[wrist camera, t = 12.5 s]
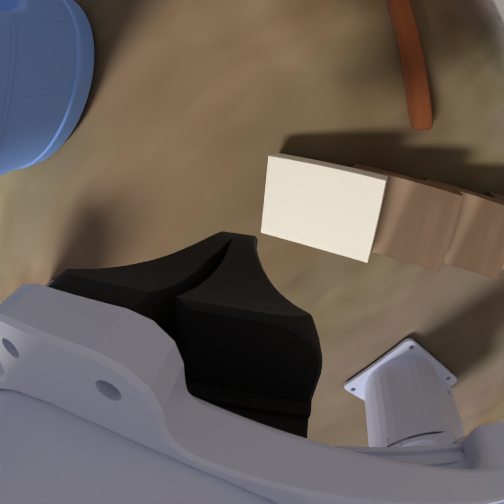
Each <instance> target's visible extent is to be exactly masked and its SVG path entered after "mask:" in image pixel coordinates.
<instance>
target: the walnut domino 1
mask: <svg viewBox="0 0 504 504" xmlns="http://www.w3.org/2000/svg"><path fill="white" fill-rule="evenodd" d="M352 168H356V169H360V170H364V171H368V172H373V173H377V174H381V175H385V176H388V178H387V183H386V189H385V194H384V198H383V203H382V208H381V212H380V217H379V221H378V226H377V230H376V234H375V238H374V243H373V247H372V251H371V252H374V253H378V254H381V255H385V256H388V257H392V258H395V259H399V260H402V261H406V262H409V263H412V264H416V265H419V266H422V267H426V268H429V269H432V270H436V271H439V272H440V271H441V268H442V266H443V263H444V260H445V257H446V254H447V251H448V247H449V244H450V241H451V238H452V234H453V231H454V228H455V224H456V221H457V217H458V213H459V210H460V206H461V202H462V198H463V196H462V194H461V193H460V191H458V190H455V189H452V188H448V187H445V186H442V185H438V184H435V183H432V182H428V181H424V180H421V179H417V178H414V177H410V176H406V175H402V174H399V173H395V172H391V171H387V170H383V169H378V168H374V167H370V166H366V165H361V164H357V163H356V164H355V165H354V166H352Z"/></svg>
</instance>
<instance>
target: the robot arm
mask: <svg viewBox="0 0 504 504" xmlns="http://www.w3.org/2000/svg"><path fill="white" fill-rule="evenodd" d="M257 240H258V239H257V238H256V237H255V236H251V235H244V234H237V233H230V232H223V231H222V232H219V233H217V234H215V235H212V236H210V237H208V238H206V239H204V240H202V241H200V242H198V243H196V244H194V245H192V246H189V247H187V248H185V249H182V250H180V251H178V252H175V253H173V254H170V255H167V256H164V257H161V258H158V259H154V260H151V261H147V262H142V263H137V264H132V265H127V266H120V267H112V268H101V269H67V270H65V271H64V272H63V273H62V274H61V275H60V276H59V277H57V278H56V279H55V280H54V281H53V282H52V283H51V284H50V285H48V286H47V287H46V286H43V285H40V284H23V285H22V286H21V287H20V288H19V289H17V290H16V291H15V292H14V293H13V294H11V295H10V296H9V297H8V298H7V299H6V300H5V301H3V302H2V303H1V304H0V504H504V422H500V423H493V424H485V425H481V426H479V427H477V428H475V429H473V430H472V431H471V432H470V433H469V434H468V435H467V436H466V437H465V436H464V430H463V425H462V422H461V418H460V415H459V412H458V409H457V406H456V402H455V399H454V396H453V393H452V390H451V386H452V385H453V384H455V383H456V382H457V378H456V376H455V375H454V374H452V373H451V372H450V371H449V370H448V369H447V368H446V367H444V366H443V365H442V364H441V363H440V362H439V361H438V360H436V359H435V358H434V357H433V356H432V355H431V354H429V353H428V352H427V351H426V350H425V349H424V348H423V347H421V346H420V345H419V344H418V343H417V342H416V341H414V340H413V339H412V338H407V339H405V340H404V341H402V342H401V343H400V344H398V345H397V346H396V347H395V348H393V349H392V350H391V351H389V352H388V353H387V354H385V355H384V356H383V357H381V358H380V359H379V360H377V361H376V362H375V363H373V364H372V365H370V366H369V367H368V368H366V369H365V370H363V371H362V372H361V373H359V374H358V375H356V376H355V377H353V378H352V379H350V380H349V381H348V382H346V383H345V384H344V388H345V389H346V390H347V391H349V392H350V393H352V394H354V395H356V396H357V397H359V398H361V399H362V400H364V401H365V408H366V418H367V430H368V443H369V447H352V446H333V445H328V444H324V443H321V442H317V441H314V440H310V439H307V429H308V418H309V416H310V413H311V400H312V397H313V394H314V391H315V389H316V386H317V383H318V380H319V377H320V374H321V369H322V353H321V347H320V342H319V337H318V334H317V330H316V327H315V324H314V321H313V318H312V316H311V315H310V314H309V313H307V312H305V311H304V310H302V309H300V308H299V307H297V306H295V305H294V304H292V303H291V302H290V301H288V300H287V299H286V298H285V297H283V296H282V295H281V294H280V293H279V292H278V291H277V290H276V288H275V287H274V286H273V285H272V283H271V282H270V280H269V279H268V277H267V275H266V274H265V272H264V270H263V267H262V265H261V263H260V260H259V257H258V253H257ZM411 345H413V346H411ZM410 346H411V347H410Z"/></svg>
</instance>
